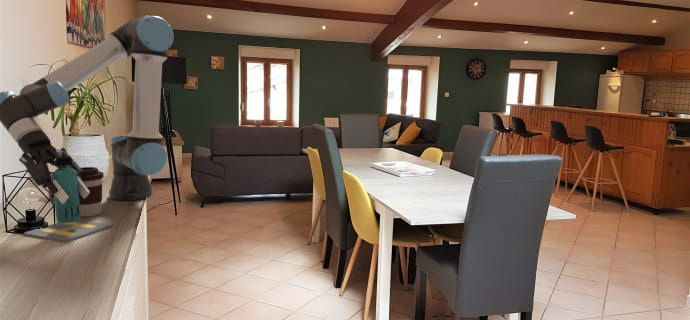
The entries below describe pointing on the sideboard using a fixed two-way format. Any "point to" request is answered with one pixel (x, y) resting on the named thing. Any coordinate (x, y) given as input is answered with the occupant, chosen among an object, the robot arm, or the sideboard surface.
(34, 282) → the sideboard surface
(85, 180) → the coffee cup
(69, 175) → the beverage bottle
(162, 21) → the robot arm
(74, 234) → the letter board
